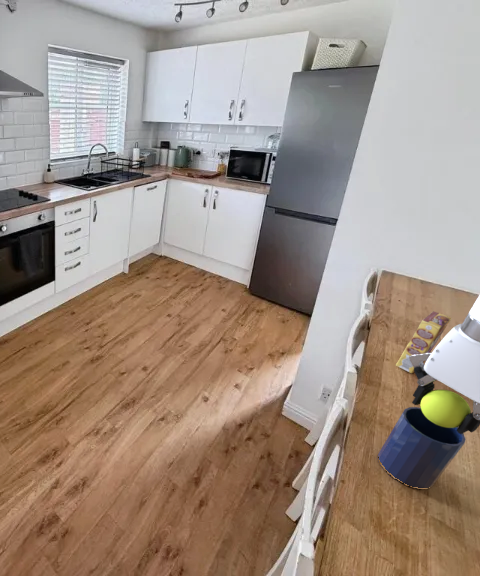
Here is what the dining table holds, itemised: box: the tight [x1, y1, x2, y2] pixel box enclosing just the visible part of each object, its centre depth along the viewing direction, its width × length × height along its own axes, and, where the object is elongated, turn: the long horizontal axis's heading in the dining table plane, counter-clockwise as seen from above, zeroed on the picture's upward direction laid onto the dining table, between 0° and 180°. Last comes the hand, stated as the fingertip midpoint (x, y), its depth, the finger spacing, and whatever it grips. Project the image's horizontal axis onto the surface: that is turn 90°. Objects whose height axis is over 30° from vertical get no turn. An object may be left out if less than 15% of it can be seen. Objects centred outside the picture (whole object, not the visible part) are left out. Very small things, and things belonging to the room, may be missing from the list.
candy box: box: [395, 311, 452, 374], centre depth 98 cm, size 9×4×15 cm, turn 125°
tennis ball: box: [419, 388, 472, 428], centre depth 64 cm, size 6×6×6 cm
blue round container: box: [377, 406, 466, 488], centre depth 69 cm, size 9×9×12 cm
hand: (440, 415), depth 65 cm, fingers closed on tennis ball, 6 cm apart
